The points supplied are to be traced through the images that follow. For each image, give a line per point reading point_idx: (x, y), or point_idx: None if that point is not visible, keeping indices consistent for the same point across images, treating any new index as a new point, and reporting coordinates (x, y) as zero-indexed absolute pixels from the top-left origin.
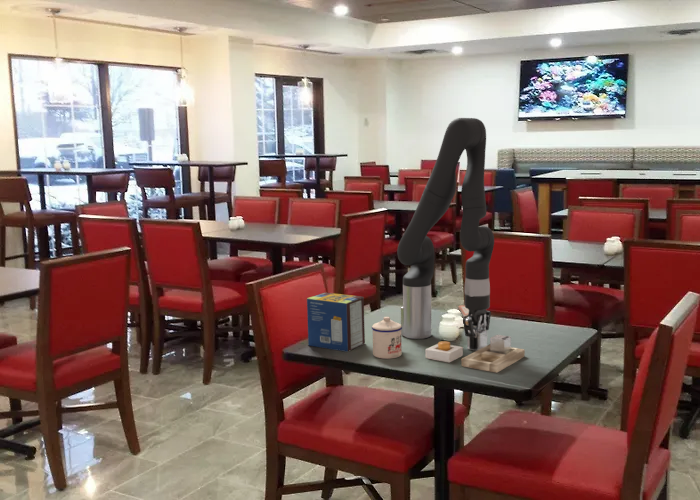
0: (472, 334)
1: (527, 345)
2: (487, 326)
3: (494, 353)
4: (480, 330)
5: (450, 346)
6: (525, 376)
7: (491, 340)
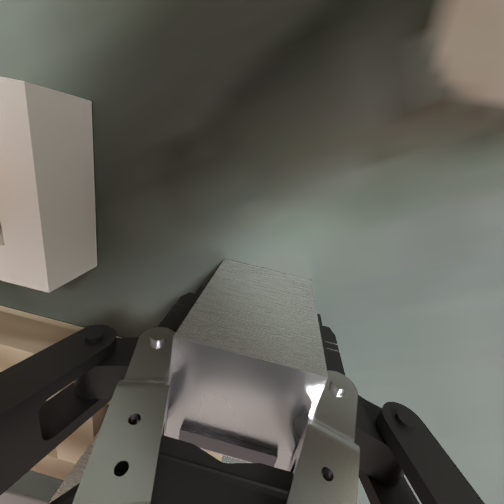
0: (73, 398)
1: (413, 490)
2: (369, 495)
3: (81, 434)
4: (253, 432)
5: (5, 212)
6: (35, 476)
7: (61, 489)
